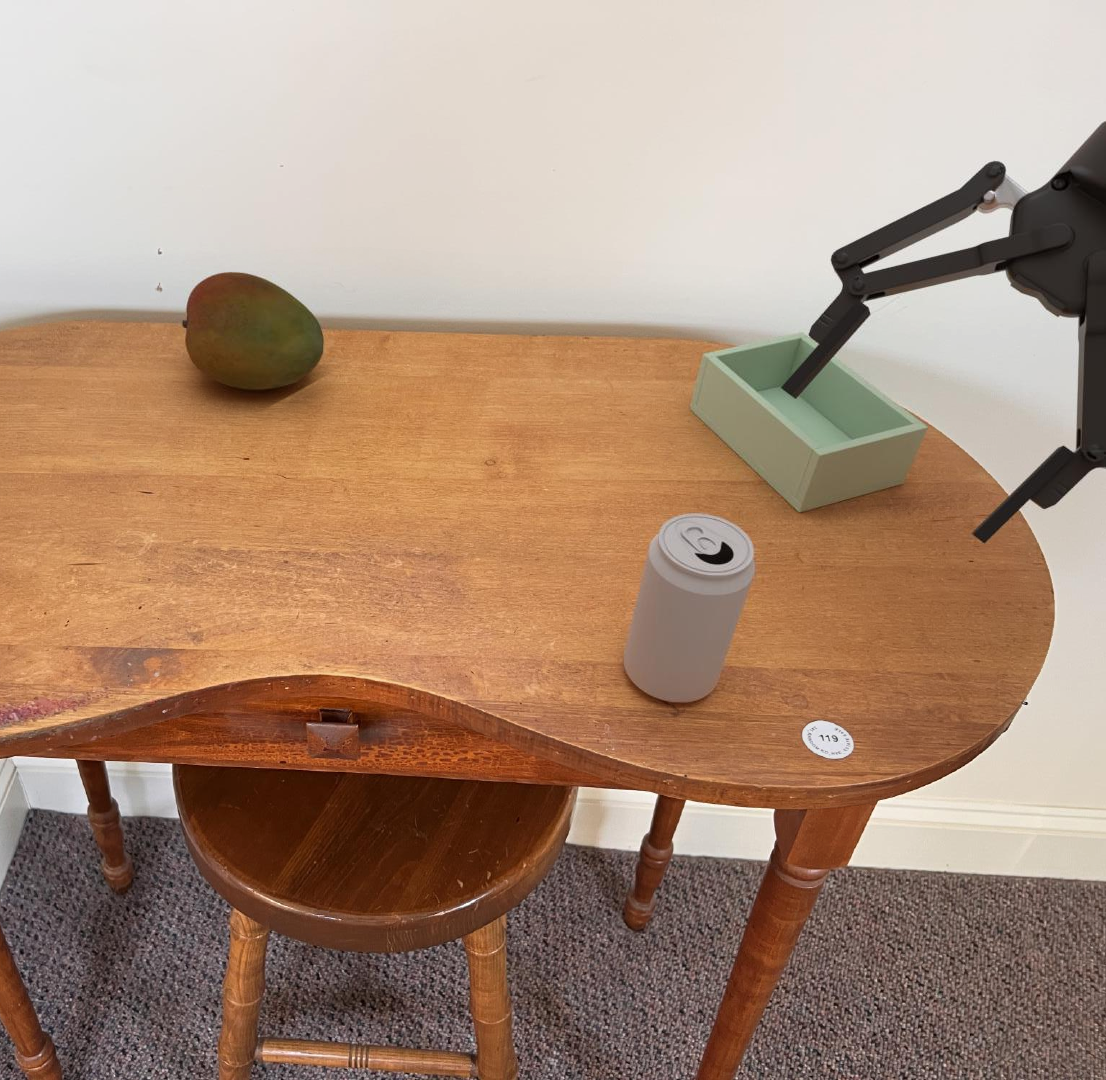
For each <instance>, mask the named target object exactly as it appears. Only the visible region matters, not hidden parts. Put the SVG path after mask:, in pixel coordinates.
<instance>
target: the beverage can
mask: <svg viewBox="0 0 1106 1080" xmlns="http://www.w3.org/2000/svg"><path fill="white" fill-rule="evenodd" d="M754 555H755V548H754V544H753V542H752V539H751V538H750V537H749V535H748V534H747V533H746V532H745V531H744V530H743V529H742V528H741V527H739V526H738V525H736V524H734V523H733V522H731V521H729V520H727V519H725V518H723V517H721V516H720V517H719V516H716V515H713V514H707V513H701V512H699V513H696V512H695V513H694V512H693V513H691V512H690V513H683V514H680V515H676V516H674V517H671V518H669V519H668V520H666V521H665V522H664V524H663V525H662V526H661V527H660V529H659V532H658V533H656V535H655V536H654V537H653V538H652V539H651V541H650V543H649V547H648V550H647V554H646V558H645V563H644V568H643V572H642V575H641V579H640V584H639V587H638V592H637V597H636V600H635V604H634V609H633V613H632V617H631V623H630V625H629V629H628V634H627V638H626V641H625V642H626V643H625V647H624V652H623V656H622V662H623V668H624V670H625V673H626V675H627V676H628V678H629V679H630V681H631V682H632V683H633V684H634V685H635V686H636V687H637V688H638V689H640V690H641V691H643V692H644V693H645V694H647V695H649V696H651V697H653V698H655V699H658V700H661V701H664V702H669V703H691V702H695V701H699V700H701V699H703V698H705V697H707V696H708V695H710V694H711V693H712V692H713V691H714V690H715V688H716V687H717V685H718V682H719V680H720V678H721V675H722V671H723V669H724V665H725V662H726V659H727V656H728V654H729V651H730V647H731V645H732V642H733V639H734V635H735V633H736V629H737V627H738V624H739V621H740V618H741V615H742V612H743V609H744V606H745V604H746V600H747V598H748V595H749V591H750V589H751V585H752V583H753V580H754V577H755V574H756V562H755V559H754Z"/></svg>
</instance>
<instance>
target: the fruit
mask: <svg viewBox="0 0 1106 1080" xmlns="http://www.w3.org/2000/svg"><path fill="white" fill-rule="evenodd" d="M185 311H186V320H185V319H183V320H182V328H184V329H185V337H184V338H185V339H184V341H185V343H184V344H185V349H186V352H187V354H188V356H189V358H190V361H191V362H192V364H193V365H194V366H195V367H196V368H197V369H198V370H199V371H200V372H202V373H203V374H204V375H205V376H206V377H208V378H209V379H212V380H213V381H216V382H218V383H219V384H223V385H225V386H229V387H232V388H236V389H242V390H255V391H256V390H270V389H278V388H281V387H287V386H289V385H292V384H294V383H295V382H298V381H299V380H301V379H303V378H304V377H306V376H307V375H308V374H310V373H311V372H312V371H313V370H314V369H315V368H316V367H317V366H318V364H319V362H320V361H321V359H322V357H323V354H324V348H325V347H324V346H325V341H324V340H325V339H324V334H323V330H322V326H321V325H320V322H319V320H318V319H317V318H316V317H315V315H314V314H313V312H311V310H309V308H308V307H307V306H306V305H305V304H303V302H301V301H300V300H299V299H298V298H296V297H295V296H293V294H291V293H289V291H288V290H285V289H284V288H282V287H281V286H279V285H277V284H276V283H274V282H272V281H270V280H268V279H266V278H263V277H260V276H257V275H254V274H251V273H247V272H239V271H238V272H237V271H227V272H218V273H215V274H212V275H210V276H208V277H205V278H204V279H203V280H201V281H199V283H198V284H196V285H195V286H194V288H193V289H192V290H191V292H190V293H189V296H188V298H187V303H186V308H185Z"/></svg>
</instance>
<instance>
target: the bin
mask: <svg viewBox="0 0 1106 1080" xmlns="http://www.w3.org/2000/svg"><path fill="white" fill-rule="evenodd" d="M818 345H819V344H818V343H817V342H815V341H814V340H813V339H811V338H810V336H809V335H808V334H806V333H805V332H803V331H801V332H796V333H792V334H787V335H783V336H778V337H774V338H769V339H764V340H759V341H755V342H750V343H747V344H746V343H745V344H742V345H737V346H733V347H728V348H723V349H719V350H715V351H710V352H705V353H702V357H701V361H700V365H699V369H698V373H697V377H696V380H695V385H694V389H693V392H692V396H691V397H692V398H691V401H690V405H689V410H690V411H691V412H692V413H693V414H695V416H697V418H698V419H700V420H701V421H702V422H703V423H704V425H706V426H707V427H708V428H709V429H710V430H711V431H712V432H714V434H715V435H716V436H718V438H720V440H722V441H723V443H725V444H726V445H727V446H728V447H729V448H730V449H731V450H732V451H733V452H734V453H735V454H736V455H738V457H740V458H741V459H742V460H743V461H744V462H745V463H746V464H747V465H748V467H750V468H751V469H752V470H753V471H754V472H755V473H756V474H757V475H759V476H760V477H761V478H762V479H763V480H764V481H765V482H766V483H767V484H768V485H769V486H770V487H771V488H773V490H774V491H776V492H777V493H778V495H780V496H781V498H783V499H784V500H785V501H786V502H787V503H788V504H789V505H791V507H792V508H793V509H794V510H795V511H796V512H798V513H803V512H807V511H811V510H814V509H818V508H821V507H826V506H828V505H832V504H835V503H839V502H842V501H846V500H849V499H854V498H858V497H860V496H864V495H868V494H872V493H875V492H878V491H882V490H885V489H889V488H893V487H896V486H901V485H903V484H904V482H905V481H906V478H907V476H908V474H909V472H910V469H911V467H912V465H913V463H914V461H915V458H916V456H917V454H918V452H919V449H920V447H921V445H922V443H923V440H924V438H925V436H926V433H927V431H928V429H929V426H927V424H925V423H924V422H922V421H920V419H918V418H916V416H915V415H913V414H911V413H910V412H909V411H907V409H905V408H904V407H902V406H901V405H900V404H898V403H897V402H895V401H894V400H893V399H891V398H890V397H889V396H888V395H886V394H885V393H884V392H883V391H881V390H880V389H878V388H877V387H876V386H875V385H873V384H872V383H870V382H869V381H868V380H867V379H865V378H864V377H863V376H861V375H860V374H858V372H856V371H855V370H853V369H852V368H851V367H849V366H848V365H846V364H845V363H844V362H843V361H841V360H840V359H839V358H838V357H836V355H834V357H833V358H832V359H831V360H830V361H829V362H828V363H827V364H826V366H825V367H824V368H823V369H822V370H821V371H820V372H819V373H818V375H817V376H816V377H815V378H814V379H813V380H812V381H811V382H810V384H809V385H808V386H807V387H806V388H805V389H804V390H803V392H802V393H801V394H800V395H799V396H798V397H797V398H796V399H795V398H793V397H792V396H791V395H789V394H788V393H787V392H785V391H784V390H783V389H782V388H781V387H782V386H783V385H784V384H785V382H786V381H787V380H788V379H789V378H790V377H791V376H792V374H793V373H794V372H795V371H796V370H797V369H798V368H799V366H800V365H801V364H802V363H803V362H804V361H805V360H806V358H807V357H808V356H809V355H810V354H811V353H812V352H813V351H814V349H815V348H816V347H817V346H818Z"/></svg>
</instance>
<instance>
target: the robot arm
mask: <svg viewBox="0 0 1106 1080" xmlns="http://www.w3.org/2000/svg"><path fill="white" fill-rule="evenodd" d="M1000 209H1008V210H1010V211H1012V212H1011V215H1010V221H1009V229H1008V236H1004V237H1001V238H997V239H993V240H988V241H985V242H981V243H979V244H977V245H974V246H971V247H968V248H967V247H966V248H963V249H959V250H955V251H950V252H946V253H942V254H938V255H934V256H930V257H926V258H922V259H918V260H913V261H910V262H906V263H902V264H898V265H894V266H889V267H886V268H885V267H884V268H881V269H877V270H873V271H872V270H871V271H868V272H865V273H864V271H863V269H864V268H867V267H869V266H871V265H873V264H875V263H877V262H879V261H882V260H884V259H885V258H888V257H889V256H891V255H893V254H895V253H898V252H900V251H902V250H904V249H906V248H908V247H909V246H912V245H914V244H916V243H918V242H921V241H922V240H924V239H927V238H929V237H931V236H933V235H935V234H937V233H939V232H941V231H943V230H946V229H947V228H949V227H952V226H954V225H955V224H958V223H960V222H961V221H963V220H966V219H967V218H968V217H970V216H971V215H973V214H974V213H976V212H979V213H981V214H992V213H993V212H995V211H998V210H1000ZM830 264H831V266H832V268H833V271H834V273H835V274H836V275H837V277H838V279H839V280H840V282H841V283H842V287H841V290H840V292H839V294H838V295H837V296H835V298H834V300H832V302H831V303H830V304H829V305H828V306H827V307H826V308H825V309H824V311H823V312H822V313H821V314H820V315H819V317H818V318H817V319H816V320H815V322H814V323H813V324H812V325H811V327H810V329H809V332H808V334H807V336H808V337H810V338H811V339H812V340H814V341H815V342H816V343H818V344H819V345H818V346H817V347H816V348H815V349H814V351H813V352H812V353H811V354H810V355H809V356H808V357H807V358H806V360H805V361H804V362H803V363H802V364H801V365H800V366H799V368H798V369H797V370H796V371H795V372H794V373H793V374H792V376H791V377H790V378H789V379H788V380H787V381H786V382H785V384H784V385H783V386H782V387H781V388H782V389H783V390H784V391H785V392H787V393H788V394H789V395H791V396H792V397H793V398H795V399H796V398H797V397H798V396H799V395H800V394H801V393H802V392H803V390H804V389H805V388H806V387H807V386H808V385H809V384H810V382H811V381H812V380H813V379H814V378H815V377H816V376H817V375H818V373H819V372H820V371H821V370H822V369H823V368H824V367H825V366H826V364H827V363H828V362H829V361H830V360H831V359H832V358H833V357H834V356H836V355H837V353H838V352H839V351H840V350H842V348H843V347H844V345H845V344H847V342H848V341H849V340H850V339H851V337H852V336H853V335H854V334H855V333H856V332H857V331H858V329H860V328H861V326H862V325H863V324H864V323H865V322H866V321H867V319H869V317H870V316H871V315H872V314H871V310H870V307H869V306H868V305H866V304H865V302H868V301H873V300H877V299H881V298H885V297H892V296H895V295H899V294H903V293H908V292H912V291H916V290H921V289H925V288H930V287H934V286H937V285H938V286H939V285H941V284H942V285H943V284H947V283H950V282H955V281H958V280H964V279H968V278H972V277H977V276H979V277H980V276H981V277H982V276H988V275H992V274H996V273H997V274H998V273H1000V272H1005V276H1006V278H1007V280H1008V282H1009V283H1010V287H1011V288H1013V289H1014V290H1016V291H1018V292H1019V293H1020V294H1023V295H1026V296H1029V297H1032V298H1035V299H1036V300H1038V302H1039V303H1040V304H1041V305H1042V307H1043V308H1044V309H1045V310H1046V311H1048V312H1049V313H1050V314H1052V315H1054V316H1055V317H1057V318H1059V317H1063V318H1068V319H1072V318H1073V319H1076V318H1078V320H1077V341H1078V356H1077V357H1078V359H1077V360H1078V362H1077V393H1076V394H1077V396H1076V397H1077V399H1076V430H1075V431H1076V432H1075V433H1076V434H1075V435H1076V436H1075V450H1074V451H1073V450H1071V449H1070V448H1069V447H1066V445H1061V446H1059V447H1057V448H1056V449H1055V450H1054V451H1053V452H1052V453H1051V454H1050V455H1048V457H1047V458H1046V459H1044V461H1042V463H1040V464H1039V466H1038V467H1037V468H1036V469H1035V470H1034V471H1033V472H1032V473H1031V474H1030V475H1028V477H1027V478H1026V479H1025V480H1024V481H1023V482H1021V483H1020V484H1019V485H1018V486H1017V488H1015V490H1013V491H1012V492H1011V493H1010V494H1009V496H1008V497H1006V499H1004V501H1002V502H1001V503H1000V504H999V505H998V507H996V508H995V509H994V510H993V511H992V512H991V513H990V514H989V515H987V517H986V518H985V519H984V520H983V521H982V522H981V523H980V524H979V525H977V527H976V528H975V529H974V530H973V531H972V532H971V535H972V536H974V537H975V538H976V539H977V540H979V541H981V543H983V544H984V545H985V544H986V543H987V542H988V541H989V540H990V539H991V538H993V536H994V535H995V534H996V533H997V532H999V530H1000V529H1001V528H1002V527H1003V526H1005V524H1006V523H1007V522H1008V521H1009V520H1010V519H1011V518H1013V516H1014V515H1016V513H1017V512H1018V511H1019V510H1021V509H1022V508H1023V507H1024V506H1025V505H1026V504H1027V503H1028V502H1029V501H1031V502H1032V503H1034V504H1035V505H1037V506H1038V507H1039V508H1041V509H1042V510H1047V509H1049V508H1052V507H1054V506H1056V505H1057V504H1058V503H1059V502H1061V500H1062V499H1063V498H1064V497H1065V496H1066V495H1067V494H1068V493H1069V492H1070V491H1071V490H1072V489H1073V488H1074V487H1075V486H1076V485H1077V484H1078V483H1080V482H1081V481H1082V480H1083V479H1084V478H1085V477H1086V476H1087V475H1088V474H1089V473H1090V472H1091V471H1093V470H1095V469H1105V470H1106V120H1104V121H1103V122H1102V123H1101V124H1099V125H1098V127H1097V128H1096V129H1095V130H1094V131H1093V132H1092V133H1091V134H1090V136H1088V138H1087V139H1086V140H1084V142H1083V143H1082V144H1081V145H1080V146H1079V147H1078V148H1077V150H1076V151H1075V152H1074V153H1073V154H1072V155H1071V156H1070V157H1069V158H1068V160H1067V161H1066V162H1065V163H1064V164H1063V165H1062V166H1060V168H1059V169H1058V171H1056V173H1055V174H1054V175H1053V176H1052V177H1051V178H1050V179H1049V180H1048V181H1047V182H1046V183H1045V184H1044V185H1042V186H1040V187H1039V188H1036V189H1035V190H1033V191H1031V192H1028V191H1027V190H1026V189H1024V187H1022V186H1021V185H1020V184H1018V183H1017V182H1016V181H1015V180H1013V179H1012V178H1011V177H1010V176H1008V175H1007V167H1006V166H1005V164H1004V163H1003V162H1001V161H999V160H993V161H990V162H988V163H986V164H985V165H983V167H982V168H980V169H979V170H977V172H976V173H975V174H974V175H973V176H972V177H971V178H970V179H968V180H967V182H965V183H964V184H963V185H962V186H961V187H960V188H959V189H957V190H954V191H953V192H951V193H949V194H946V195H945V196H943V197H941V198H939V199H936V200H935V201H933V202H931V203H928V204H926V205H924V206H922V207H920V208H918V209H916V210H914V211H912V212H910V213H908V214H906V215H904V216H902V217H900V218H898V219H896V220H894V221H892V222H890V223H888V224H886V225H884V226H882V227H880V228H878V229H876V230H874V231H872V232H870V233H868V234H866V235H864V236H862V237H860V238H857V239H856V240H854V241H851V242H850V243H848V244H846V245H844V246H841V247H839V248H838V249H836V250H835V251H834V252H833V253H832V254H831V255H830Z"/></svg>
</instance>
